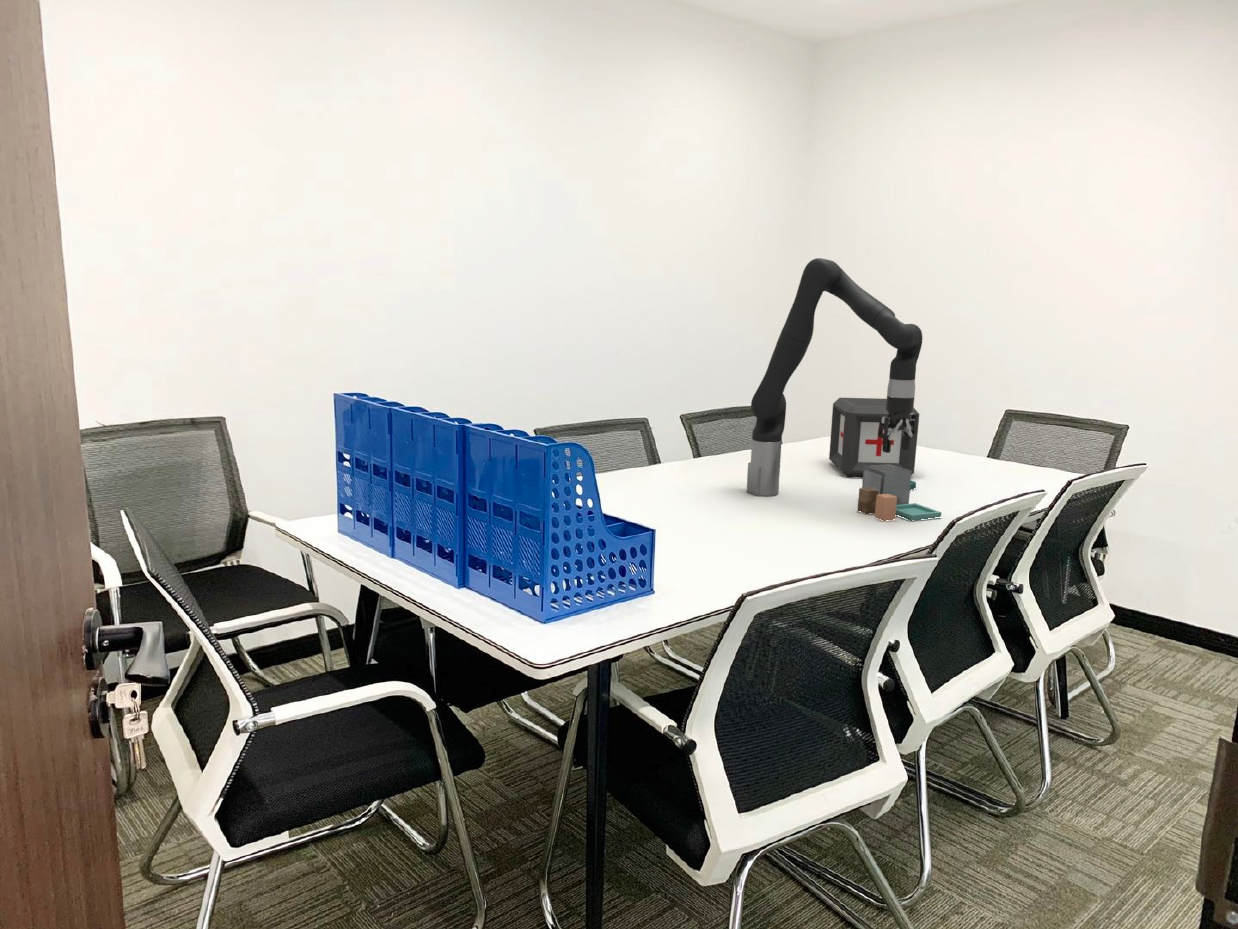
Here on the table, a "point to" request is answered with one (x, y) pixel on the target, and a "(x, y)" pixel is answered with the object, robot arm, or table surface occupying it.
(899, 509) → the teal tray
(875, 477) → the grey unit
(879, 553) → the table surface
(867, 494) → the walnut block
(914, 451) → the first aid kit
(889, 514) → the terracotta block
